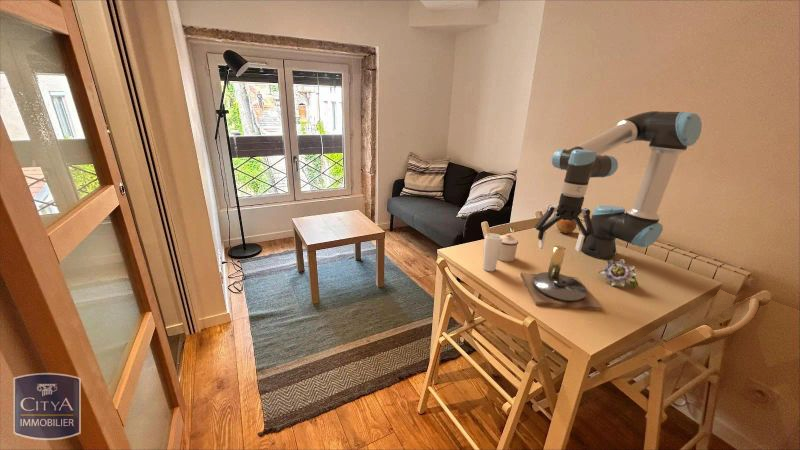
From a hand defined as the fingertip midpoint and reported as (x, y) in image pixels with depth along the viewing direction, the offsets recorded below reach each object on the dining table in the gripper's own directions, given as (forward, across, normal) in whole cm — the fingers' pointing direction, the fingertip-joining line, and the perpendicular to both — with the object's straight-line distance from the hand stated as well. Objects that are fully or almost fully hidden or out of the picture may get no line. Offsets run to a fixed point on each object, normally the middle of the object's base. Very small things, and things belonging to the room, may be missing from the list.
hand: (558, 249), depth 118 cm
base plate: (+15, 0, -6) cm, 16 cm away
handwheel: (+13, 0, -6) cm, 14 cm away
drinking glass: (+15, -22, +8) cm, 28 cm away
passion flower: (+15, +28, +5) cm, 32 cm away
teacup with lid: (+15, -14, +21) cm, 29 cm away
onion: (+14, +28, +58) cm, 66 cm away
